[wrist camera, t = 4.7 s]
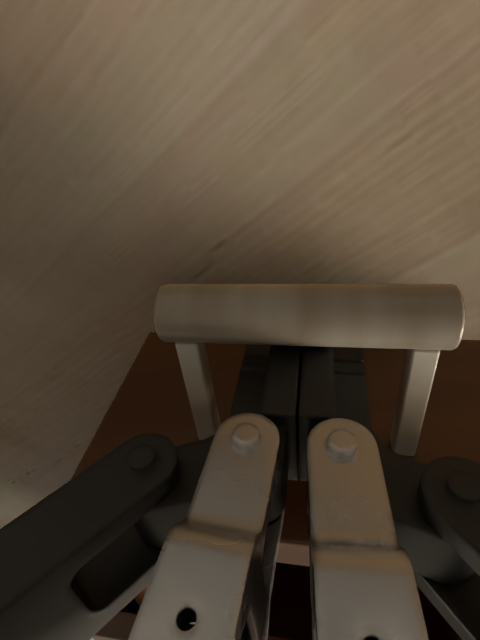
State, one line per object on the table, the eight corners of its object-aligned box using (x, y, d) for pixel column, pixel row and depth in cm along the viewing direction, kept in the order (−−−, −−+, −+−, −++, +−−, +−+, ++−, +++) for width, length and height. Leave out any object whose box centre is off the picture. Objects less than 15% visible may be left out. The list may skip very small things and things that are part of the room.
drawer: (113, 210, 14) (-52, 371, 8) (541, 195, 12) (784, 411, 5) (202, 515, 26) (164, 675, 20) (425, 539, 23) (460, 731, 17)
